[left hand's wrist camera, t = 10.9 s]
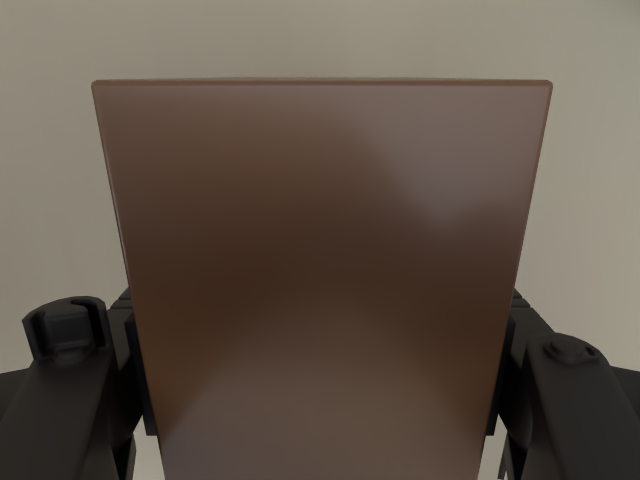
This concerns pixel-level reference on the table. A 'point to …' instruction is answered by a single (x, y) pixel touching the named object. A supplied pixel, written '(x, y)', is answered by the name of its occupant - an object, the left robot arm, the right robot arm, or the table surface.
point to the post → (321, 266)
